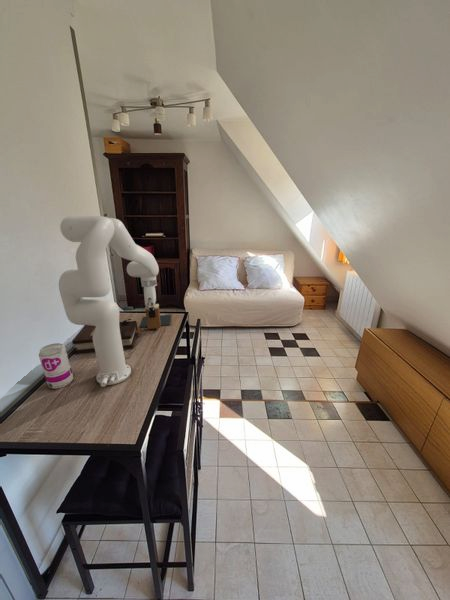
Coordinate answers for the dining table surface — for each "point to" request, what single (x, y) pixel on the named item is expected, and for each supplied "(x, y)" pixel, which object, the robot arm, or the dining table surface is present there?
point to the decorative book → (86, 333)
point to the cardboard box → (154, 321)
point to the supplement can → (56, 365)
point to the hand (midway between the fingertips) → (153, 314)
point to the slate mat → (164, 319)
